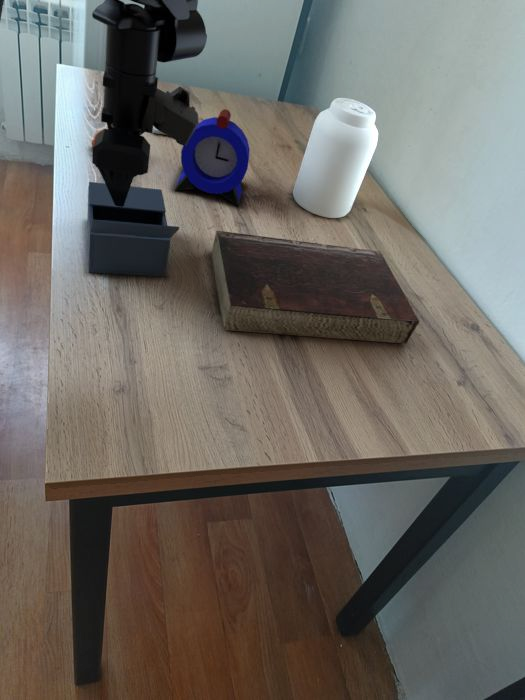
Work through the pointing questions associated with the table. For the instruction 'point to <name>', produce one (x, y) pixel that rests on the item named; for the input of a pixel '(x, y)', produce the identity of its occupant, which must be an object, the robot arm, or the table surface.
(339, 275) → the hardback book
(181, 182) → the alarm clock
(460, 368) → the table surface
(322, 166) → the white plastic bottle
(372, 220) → the table surface
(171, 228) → the box lid
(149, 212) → the carton
